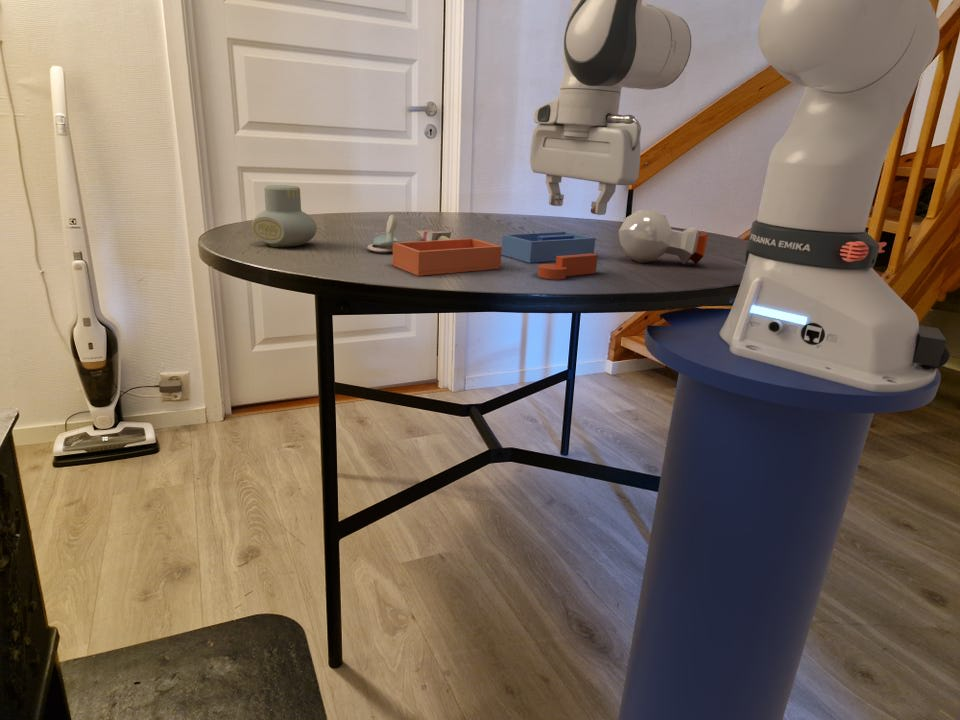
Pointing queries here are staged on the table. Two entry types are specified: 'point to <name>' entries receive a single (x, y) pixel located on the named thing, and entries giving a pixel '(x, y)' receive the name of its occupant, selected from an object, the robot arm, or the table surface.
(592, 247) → the blue tray
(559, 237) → the blue block with disc
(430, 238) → the wrapped snack bar
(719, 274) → the table surface
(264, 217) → the air freshener
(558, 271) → the orange stepped block
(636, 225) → the potion bottle
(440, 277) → the table surface
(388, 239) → the pacifier
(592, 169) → the robot arm
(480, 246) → the terracotta tray
